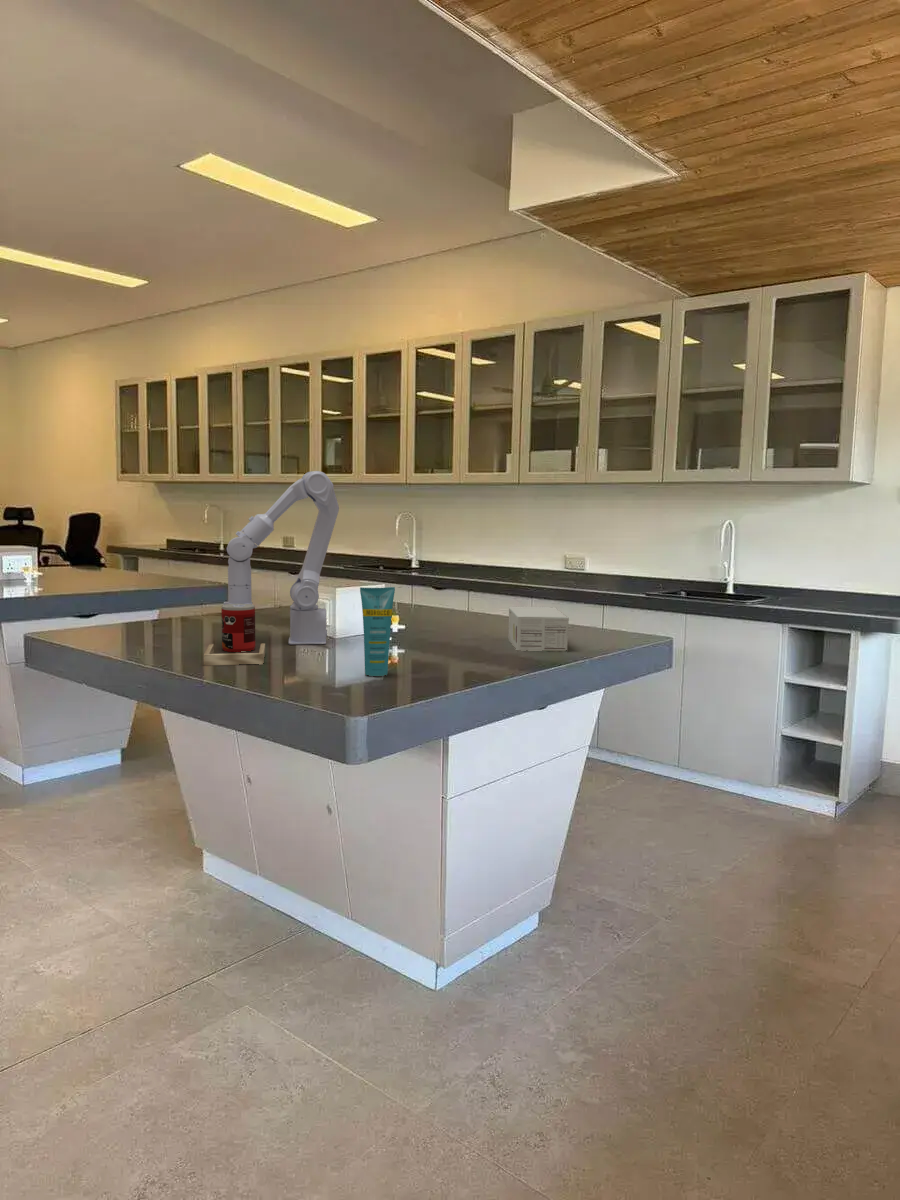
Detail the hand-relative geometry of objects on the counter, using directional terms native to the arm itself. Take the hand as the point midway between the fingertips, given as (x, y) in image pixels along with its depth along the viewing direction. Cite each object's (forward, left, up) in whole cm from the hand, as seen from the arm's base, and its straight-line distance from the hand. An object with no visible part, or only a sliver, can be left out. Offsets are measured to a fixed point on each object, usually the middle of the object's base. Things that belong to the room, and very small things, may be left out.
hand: (240, 638), depth 216 cm
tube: (-31, +38, -2) cm, 49 cm away
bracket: (0, +18, -2) cm, 18 cm away
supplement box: (-76, +7, -2) cm, 76 cm away
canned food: (0, +7, -2) cm, 7 cm away
